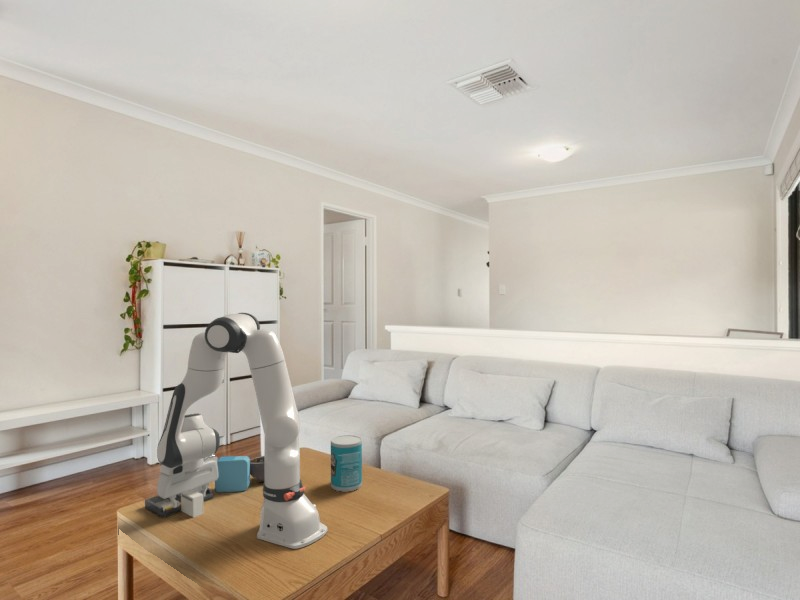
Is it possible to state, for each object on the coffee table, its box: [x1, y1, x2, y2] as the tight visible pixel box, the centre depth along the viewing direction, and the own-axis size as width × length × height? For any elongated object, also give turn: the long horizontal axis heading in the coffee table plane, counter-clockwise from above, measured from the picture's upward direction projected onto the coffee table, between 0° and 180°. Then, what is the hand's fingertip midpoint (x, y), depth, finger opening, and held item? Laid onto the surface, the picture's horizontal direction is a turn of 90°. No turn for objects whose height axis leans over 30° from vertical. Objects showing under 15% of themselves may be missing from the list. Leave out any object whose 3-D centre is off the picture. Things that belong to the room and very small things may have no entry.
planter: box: [250, 455, 265, 483], centre depth 184 cm, size 15×17×20 cm
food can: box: [330, 434, 363, 493], centre depth 177 cm, size 12×12×18 cm
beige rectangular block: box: [180, 489, 204, 518], centre depth 156 cm, size 8×4×6 cm, turn 53°
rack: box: [144, 486, 214, 519], centre depth 163 cm, size 12×18×6 cm, turn 143°
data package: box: [214, 455, 251, 493], centre depth 174 cm, size 12×4×12 cm, turn 96°
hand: (189, 501), depth 155 cm, fingers open, 8 cm apart
